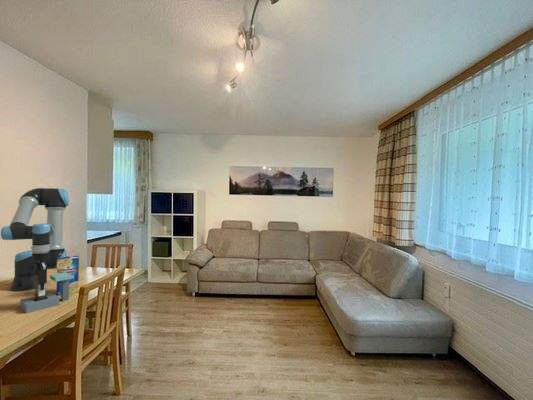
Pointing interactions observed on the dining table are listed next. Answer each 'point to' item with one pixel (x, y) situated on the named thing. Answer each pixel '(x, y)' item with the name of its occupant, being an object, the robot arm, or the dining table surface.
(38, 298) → the walnut peg
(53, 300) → the socket block
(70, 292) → the beverage box
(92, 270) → the dining table surface
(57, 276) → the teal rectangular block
